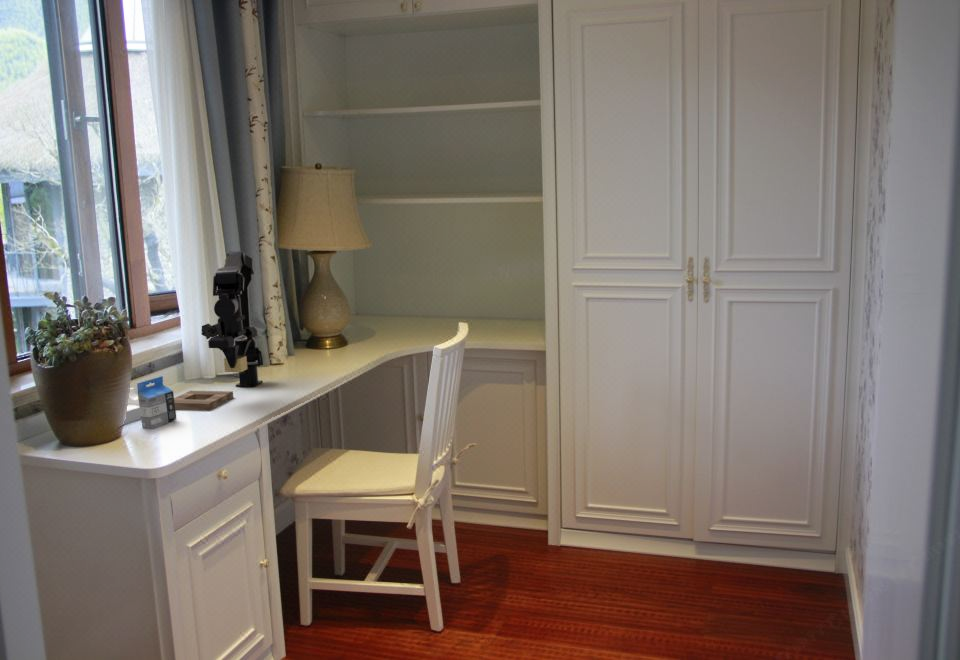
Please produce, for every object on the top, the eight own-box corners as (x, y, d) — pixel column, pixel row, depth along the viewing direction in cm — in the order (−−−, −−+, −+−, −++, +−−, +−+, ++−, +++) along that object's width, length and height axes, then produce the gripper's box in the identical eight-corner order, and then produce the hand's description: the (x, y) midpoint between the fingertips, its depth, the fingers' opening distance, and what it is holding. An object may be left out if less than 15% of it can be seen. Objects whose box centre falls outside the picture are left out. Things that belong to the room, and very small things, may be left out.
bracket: (135, 413, 247) (132, 387, 245) (152, 415, 243) (149, 389, 242) (95, 425, 235) (92, 398, 234) (113, 428, 232) (110, 401, 231)
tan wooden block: (231, 368, 254) (230, 355, 253) (247, 369, 253) (246, 355, 252) (225, 372, 250) (223, 358, 249) (241, 372, 249) (239, 358, 248)
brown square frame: (191, 396, 262) (190, 390, 262) (233, 397, 259) (232, 391, 259) (165, 409, 249) (164, 402, 248) (209, 410, 246) (208, 403, 245)
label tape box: (151, 429, 229) (147, 384, 227) (141, 427, 231) (136, 383, 228) (177, 420, 237) (172, 376, 234) (166, 419, 238) (161, 375, 236)
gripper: (221, 308, 259) (226, 359, 262) (188, 318, 241) (193, 373, 244) (255, 308, 257) (260, 359, 259) (225, 318, 239) (230, 374, 241)
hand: (235, 366), depth 251 cm, fingers closed on tan wooden block, 4 cm apart
